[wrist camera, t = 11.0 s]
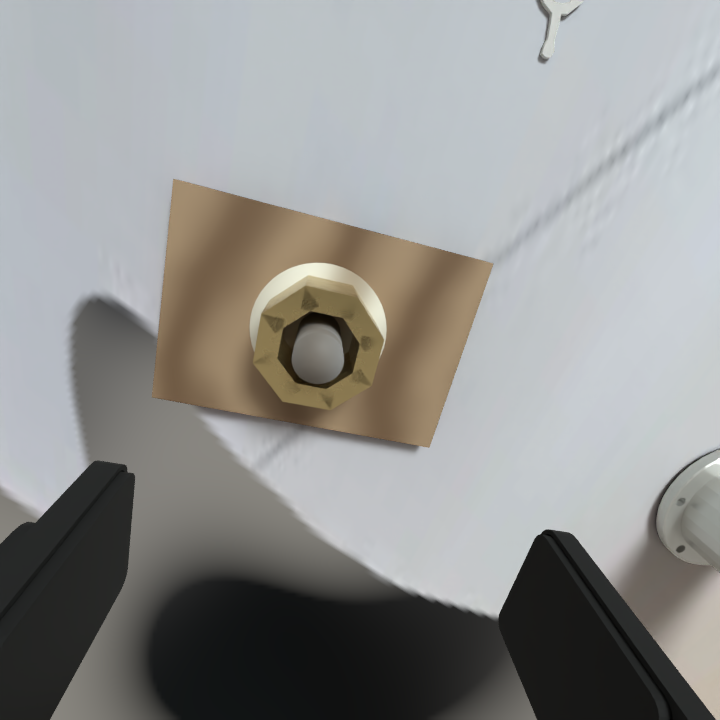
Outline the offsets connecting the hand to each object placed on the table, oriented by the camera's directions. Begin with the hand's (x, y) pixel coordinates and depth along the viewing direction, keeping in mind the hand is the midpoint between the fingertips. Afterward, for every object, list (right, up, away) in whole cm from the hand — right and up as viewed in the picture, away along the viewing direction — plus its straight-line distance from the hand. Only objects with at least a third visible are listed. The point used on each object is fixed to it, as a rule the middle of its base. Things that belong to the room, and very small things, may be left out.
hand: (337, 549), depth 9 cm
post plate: (-2, +7, +19) cm, 20 cm away
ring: (-2, +6, +18) cm, 19 cm away
